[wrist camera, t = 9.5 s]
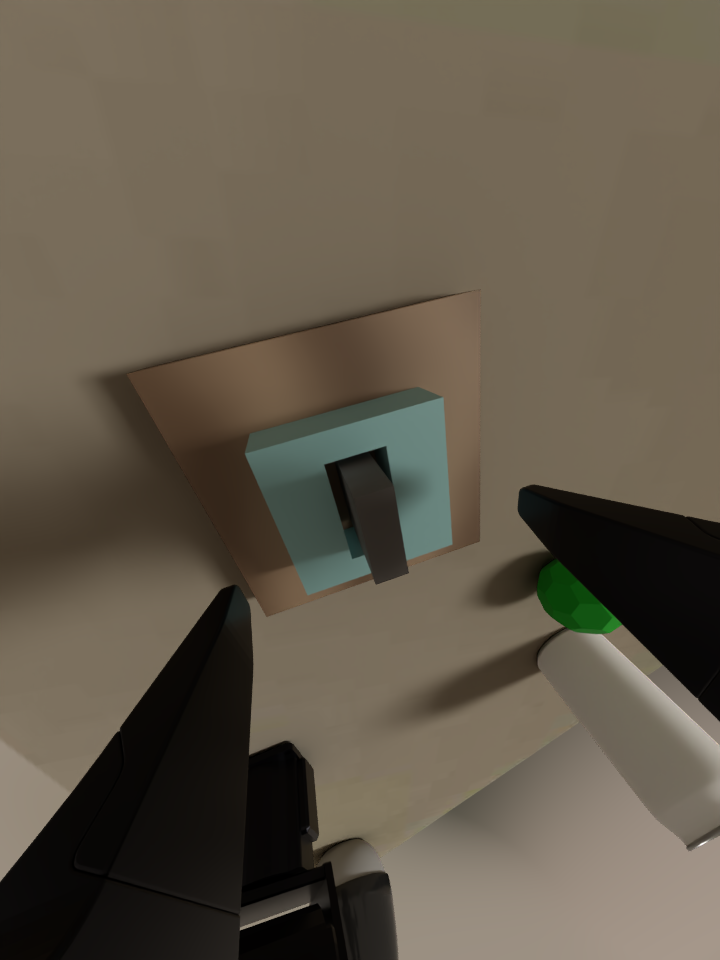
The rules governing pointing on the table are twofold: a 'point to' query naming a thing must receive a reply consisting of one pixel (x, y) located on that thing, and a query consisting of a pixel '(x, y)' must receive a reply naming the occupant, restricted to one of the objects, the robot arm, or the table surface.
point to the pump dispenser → (363, 901)
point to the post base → (312, 391)
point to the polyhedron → (572, 602)
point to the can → (639, 732)
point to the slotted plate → (341, 434)
